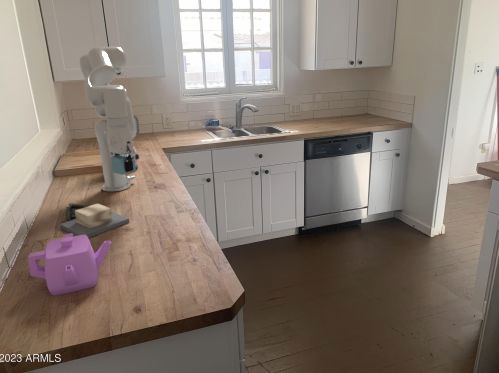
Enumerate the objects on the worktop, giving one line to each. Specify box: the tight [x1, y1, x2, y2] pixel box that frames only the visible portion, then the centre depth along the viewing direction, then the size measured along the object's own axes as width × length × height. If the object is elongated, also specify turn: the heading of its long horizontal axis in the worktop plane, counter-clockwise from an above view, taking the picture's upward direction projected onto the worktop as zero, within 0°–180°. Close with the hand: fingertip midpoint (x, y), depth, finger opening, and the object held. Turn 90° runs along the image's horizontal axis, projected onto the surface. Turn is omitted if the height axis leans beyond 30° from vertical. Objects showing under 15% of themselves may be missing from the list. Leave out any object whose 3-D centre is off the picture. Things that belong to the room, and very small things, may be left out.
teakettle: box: [27, 232, 112, 297], centre depth 107 cm, size 17×17×12 cm
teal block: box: [111, 154, 137, 175], centre depth 148 cm, size 6×6×6 cm
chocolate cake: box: [65, 202, 89, 221], centre depth 150 cm, size 10×7×12 cm
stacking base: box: [59, 203, 130, 239], centre depth 142 cm, size 18×16×6 cm
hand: (124, 169), depth 148 cm, fingers closed on teal block, 6 cm apart
